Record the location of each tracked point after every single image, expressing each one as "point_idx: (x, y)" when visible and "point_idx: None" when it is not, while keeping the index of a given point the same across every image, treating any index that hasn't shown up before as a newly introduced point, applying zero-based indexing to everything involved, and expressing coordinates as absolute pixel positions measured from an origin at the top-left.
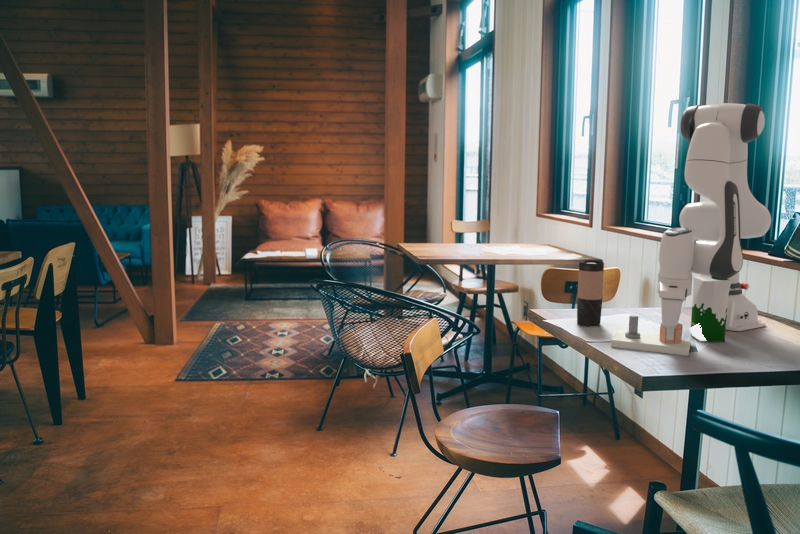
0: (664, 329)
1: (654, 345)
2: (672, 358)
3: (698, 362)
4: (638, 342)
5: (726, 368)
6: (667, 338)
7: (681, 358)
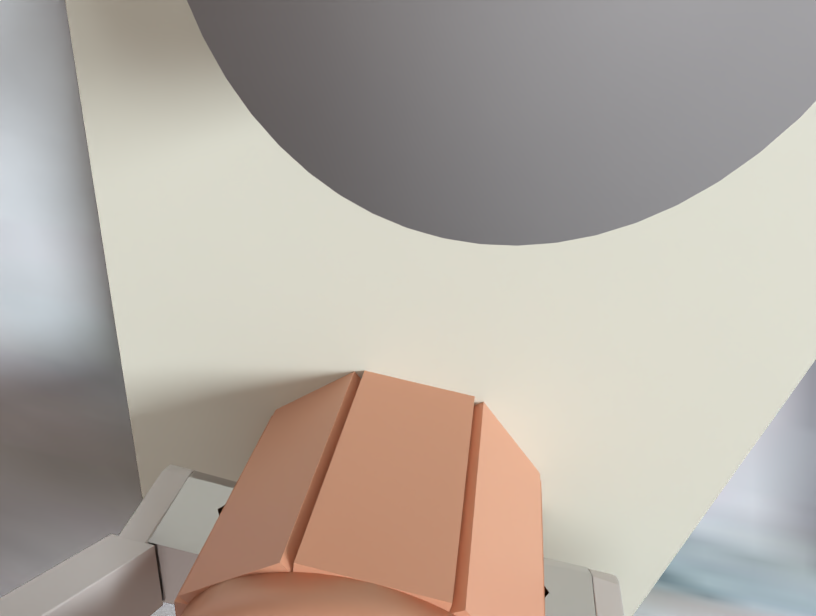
0: (215, 566)
1: (117, 267)
2: (15, 357)
3: (31, 500)
4: (99, 29)
5: (4, 590)
6: (168, 476)
7: (67, 424)
